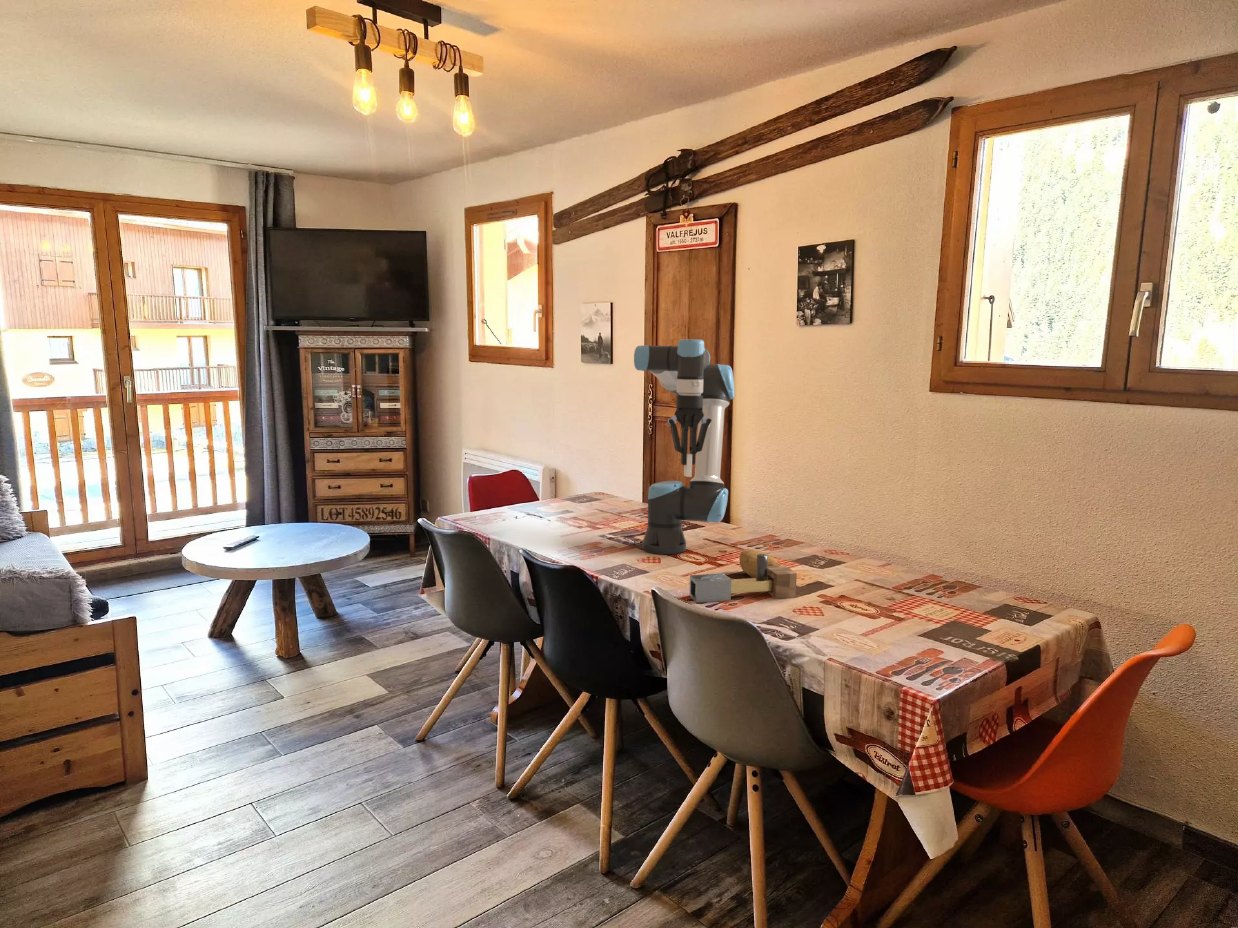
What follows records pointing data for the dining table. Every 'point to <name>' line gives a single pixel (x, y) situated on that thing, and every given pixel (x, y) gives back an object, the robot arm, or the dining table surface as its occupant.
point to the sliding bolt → (755, 579)
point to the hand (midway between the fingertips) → (687, 475)
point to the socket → (782, 581)
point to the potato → (753, 561)
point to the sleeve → (710, 588)
